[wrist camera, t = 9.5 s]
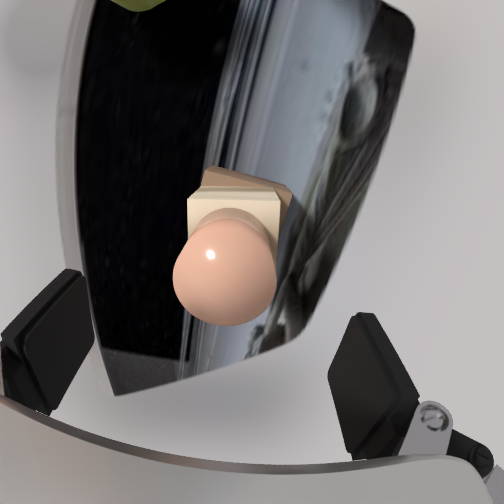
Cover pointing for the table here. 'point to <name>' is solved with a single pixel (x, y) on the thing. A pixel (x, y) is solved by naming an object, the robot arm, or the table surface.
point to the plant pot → (138, 4)
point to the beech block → (245, 198)
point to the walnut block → (247, 185)
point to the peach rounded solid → (226, 269)
